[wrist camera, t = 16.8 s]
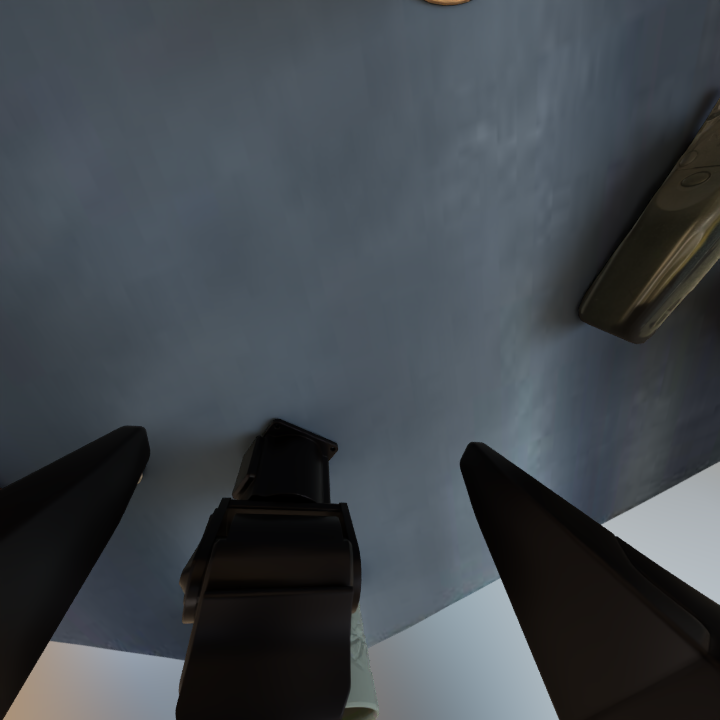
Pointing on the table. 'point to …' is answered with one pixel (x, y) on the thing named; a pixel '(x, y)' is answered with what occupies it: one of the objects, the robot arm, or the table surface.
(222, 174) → the table surface
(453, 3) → the cork coaster
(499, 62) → the table surface
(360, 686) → the drinking glass
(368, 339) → the table surface
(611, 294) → the mobile phone
